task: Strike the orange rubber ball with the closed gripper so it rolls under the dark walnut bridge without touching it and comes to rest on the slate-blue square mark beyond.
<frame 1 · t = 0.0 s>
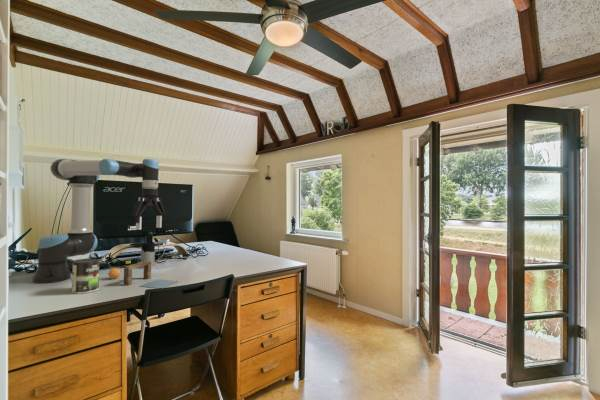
hand: (149, 228, 150), 28 cm above the table, tool pointing down, fingers open, 13 cm apart
ball: (114, 273, 154), on the table
coffee can: (85, 290, 133), on the table
glass holder: (152, 267, 183), on the table
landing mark: (159, 284, 146), on the table
bridge: (137, 281, 149), on the table
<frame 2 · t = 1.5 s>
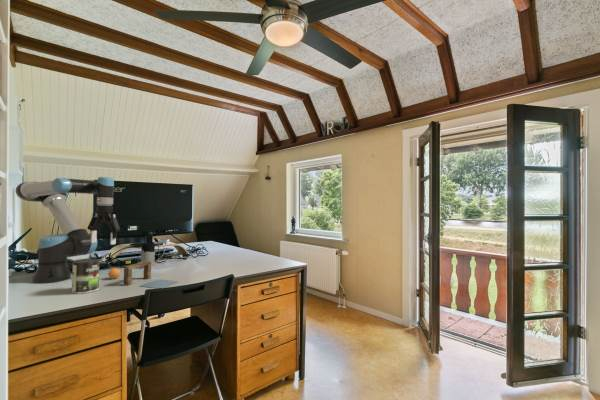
hand: (103, 243, 157), 19 cm above the table, tool pointing down, fingers open, 13 cm apart
nothing on the table moved.
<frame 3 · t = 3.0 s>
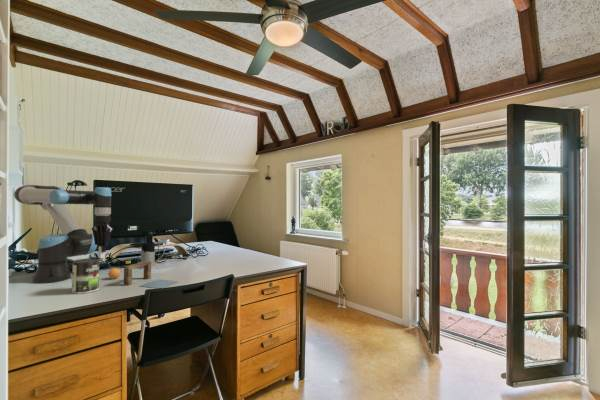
hand: (101, 257, 156), 11 cm above the table, tool pointing down, fingers closed
nothing on the table moved.
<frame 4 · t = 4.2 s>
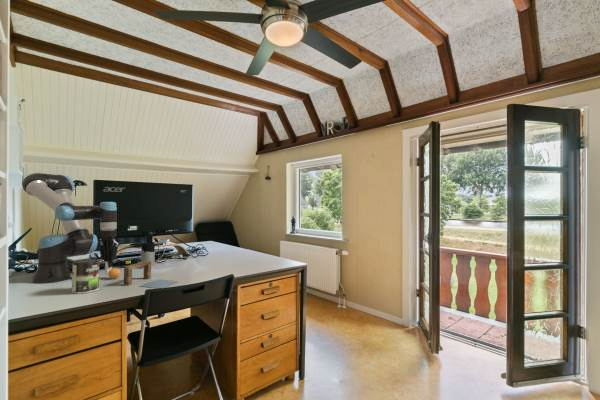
hand: (108, 273, 155), 3 cm above the table, tool pointing down, fingers closed
nothing on the table moved.
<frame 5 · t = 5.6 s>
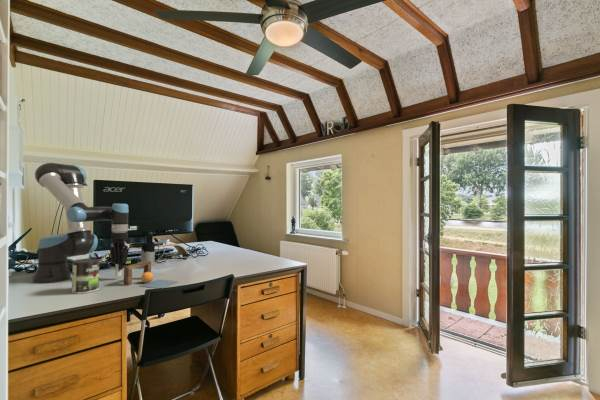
hand: (118, 275, 153), 2 cm above the table, tool pointing down, fingers closed
ball: (147, 277, 148), on the table
everything else where it was.
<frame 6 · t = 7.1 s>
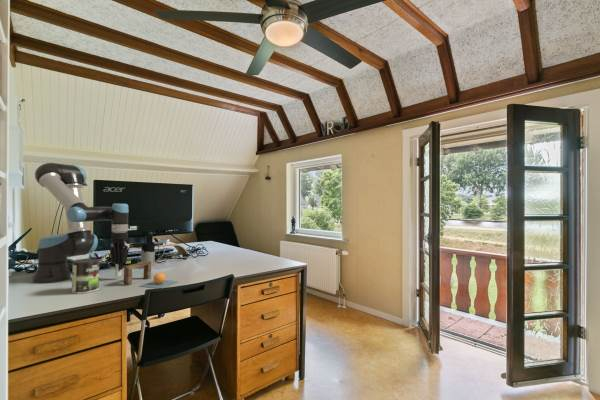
hand: (118, 275, 153), 2 cm above the table, tool pointing down, fingers closed
ball: (159, 278, 146), on the table
everything else where it was.
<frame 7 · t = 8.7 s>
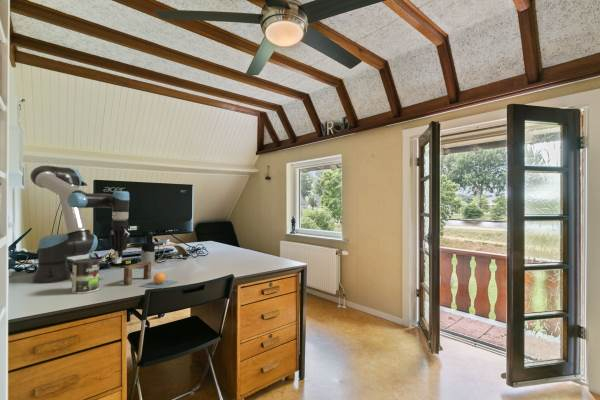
hand: (118, 262, 153), 9 cm above the table, tool pointing down, fingers closed
nothing on the table moved.
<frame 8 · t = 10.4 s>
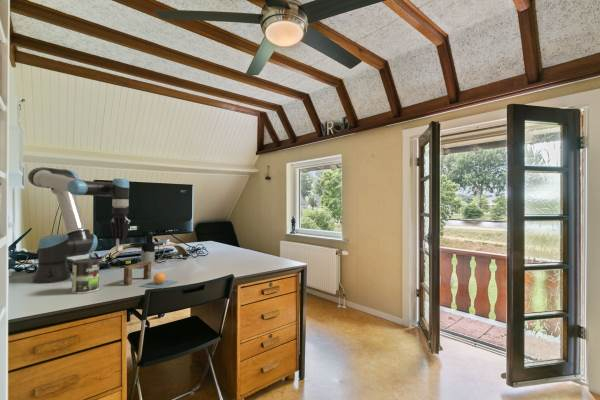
hand: (119, 250, 153), 15 cm above the table, tool pointing down, fingers closed
nothing on the table moved.
at the end: ball 0.1 cm from the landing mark (horizontally); ball never touched bridge; ball at rest at the end (0.0 cm/s) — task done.
